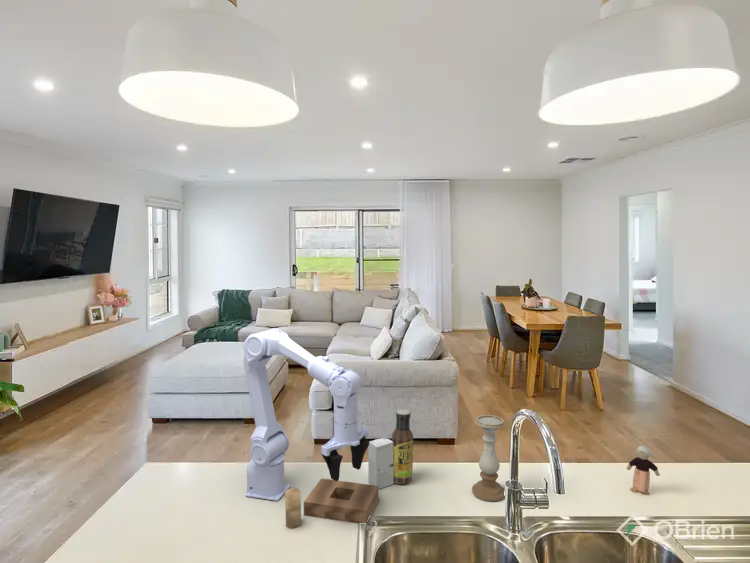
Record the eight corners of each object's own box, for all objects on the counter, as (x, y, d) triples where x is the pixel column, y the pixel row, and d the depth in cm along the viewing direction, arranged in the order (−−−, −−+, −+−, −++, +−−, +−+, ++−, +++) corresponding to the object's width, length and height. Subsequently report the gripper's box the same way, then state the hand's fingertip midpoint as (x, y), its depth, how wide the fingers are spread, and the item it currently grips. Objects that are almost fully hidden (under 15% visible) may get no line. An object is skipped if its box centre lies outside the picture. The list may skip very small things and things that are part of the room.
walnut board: (303, 515, 118) (303, 501, 118) (321, 490, 130) (321, 478, 129) (366, 524, 114) (366, 510, 114) (378, 498, 126) (378, 485, 125)
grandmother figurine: (626, 492, 128) (628, 446, 127) (625, 485, 132) (627, 441, 131) (659, 498, 125) (661, 451, 124) (657, 491, 129) (659, 445, 128)
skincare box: (376, 490, 130) (376, 447, 129) (367, 483, 133) (367, 441, 132) (394, 483, 133) (394, 441, 132) (385, 477, 137) (385, 436, 136)
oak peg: (283, 527, 113) (282, 494, 113) (289, 518, 117) (289, 487, 116) (297, 529, 112) (296, 497, 112) (303, 520, 116) (302, 489, 115)
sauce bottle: (398, 488, 131) (399, 417, 129) (386, 478, 136) (386, 410, 134) (417, 481, 134) (418, 413, 133) (404, 472, 140) (404, 406, 138)
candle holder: (512, 498, 126) (514, 423, 124) (483, 504, 123) (484, 428, 121) (493, 482, 134) (494, 412, 132) (465, 488, 131) (466, 416, 129)
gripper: (335, 433, 110) (336, 490, 111) (377, 416, 120) (377, 468, 122) (315, 425, 114) (315, 480, 115) (357, 409, 125) (357, 459, 126)
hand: (345, 473), depth 119 cm, fingers open, 7 cm apart
